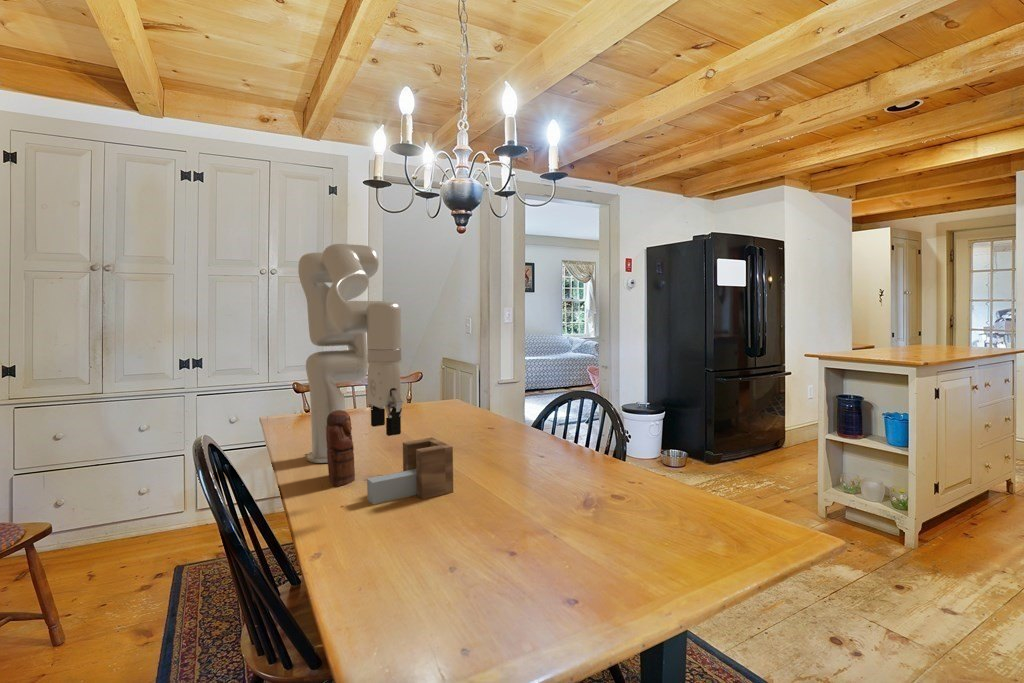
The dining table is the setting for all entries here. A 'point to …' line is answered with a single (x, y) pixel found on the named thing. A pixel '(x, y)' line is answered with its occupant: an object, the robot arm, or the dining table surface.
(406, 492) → the rail
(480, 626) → the dining table surface
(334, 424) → the wooden figurine
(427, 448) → the brown wooden u-shaped block
